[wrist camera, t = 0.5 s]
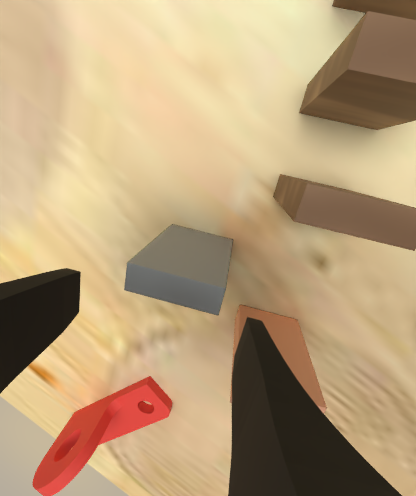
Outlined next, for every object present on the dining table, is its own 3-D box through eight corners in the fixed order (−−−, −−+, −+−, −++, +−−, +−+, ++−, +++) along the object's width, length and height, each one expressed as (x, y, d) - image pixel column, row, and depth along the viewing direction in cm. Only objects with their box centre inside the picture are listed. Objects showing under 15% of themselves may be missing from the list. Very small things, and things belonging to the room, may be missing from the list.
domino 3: (280, 174, 17) (307, 183, 10) (351, 190, 17) (435, 213, 10) (273, 196, 18) (294, 221, 10) (342, 213, 18) (414, 250, 10)
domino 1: (239, 304, 21) (237, 382, 14) (297, 319, 21) (326, 408, 13) (235, 319, 22) (230, 402, 14) (291, 334, 21) (315, 427, 14)
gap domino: (171, 224, 20) (127, 262, 12) (232, 239, 19) (225, 288, 12) (168, 242, 20) (124, 290, 13) (228, 257, 20) (218, 315, 12)
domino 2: (307, 84, 15) (367, 11, 8) (388, 101, 15) (530, 42, 8) (299, 112, 16) (347, 68, 8) (376, 129, 16) (498, 99, 8)
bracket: (100, 436, 30) (53, 526, 22) (75, 411, 29) (17, 496, 22) (176, 404, 26) (150, 499, 19) (150, 374, 25) (111, 462, 18)
